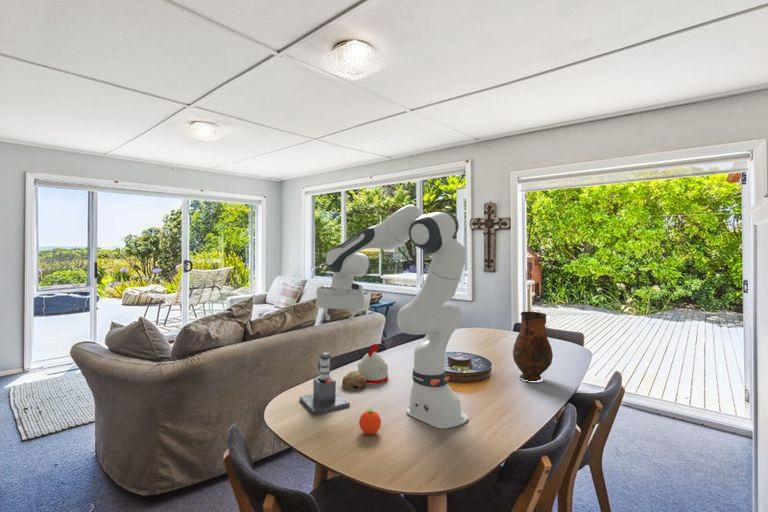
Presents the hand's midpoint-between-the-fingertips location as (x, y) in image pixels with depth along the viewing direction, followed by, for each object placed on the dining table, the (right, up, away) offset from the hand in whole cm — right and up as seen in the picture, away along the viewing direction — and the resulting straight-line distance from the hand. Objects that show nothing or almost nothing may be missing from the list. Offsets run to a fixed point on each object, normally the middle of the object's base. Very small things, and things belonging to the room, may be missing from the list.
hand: (339, 320), depth 153 cm
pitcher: (+86, -30, +20) cm, 93 cm away
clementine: (+14, -30, -32) cm, 46 cm away
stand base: (-4, -29, -11) cm, 32 cm away
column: (-4, -27, -11) cm, 30 cm away
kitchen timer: (+13, -29, +16) cm, 35 cm away
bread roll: (+5, -29, +7) cm, 30 cm away
